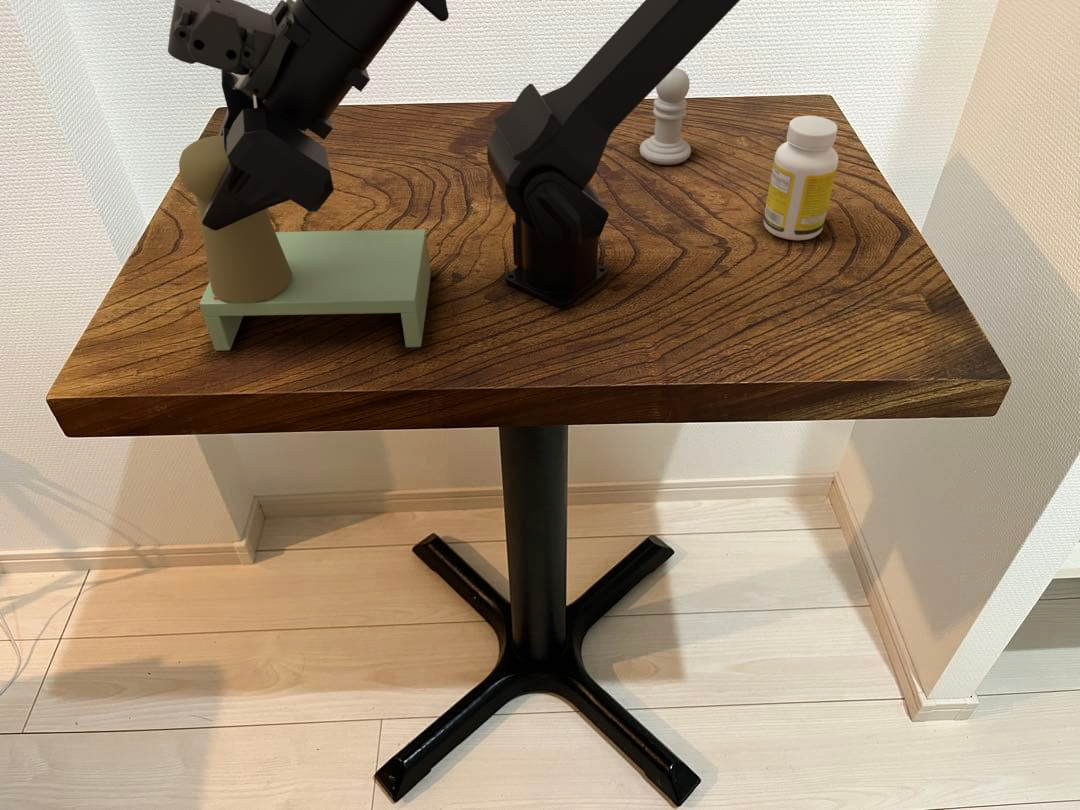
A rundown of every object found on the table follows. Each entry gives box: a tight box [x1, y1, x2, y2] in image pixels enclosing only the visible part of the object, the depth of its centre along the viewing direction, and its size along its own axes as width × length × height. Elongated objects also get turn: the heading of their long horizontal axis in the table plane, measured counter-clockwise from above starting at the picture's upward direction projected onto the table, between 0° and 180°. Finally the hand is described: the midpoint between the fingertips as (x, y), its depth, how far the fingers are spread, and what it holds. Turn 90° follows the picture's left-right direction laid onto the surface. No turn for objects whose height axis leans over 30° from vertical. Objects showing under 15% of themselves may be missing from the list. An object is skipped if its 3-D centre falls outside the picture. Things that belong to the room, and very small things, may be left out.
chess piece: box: [639, 67, 692, 166], centre depth 87 cm, size 5×5×9 cm
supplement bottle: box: [763, 115, 839, 241], centre depth 76 cm, size 5×5×10 cm
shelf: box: [199, 228, 432, 352], centre depth 69 cm, size 10×16×5 cm, turn 91°
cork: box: [178, 135, 292, 303], centre depth 62 cm, size 6×6×11 cm
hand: (208, 204), depth 61 cm, fingers open, 6 cm apart
